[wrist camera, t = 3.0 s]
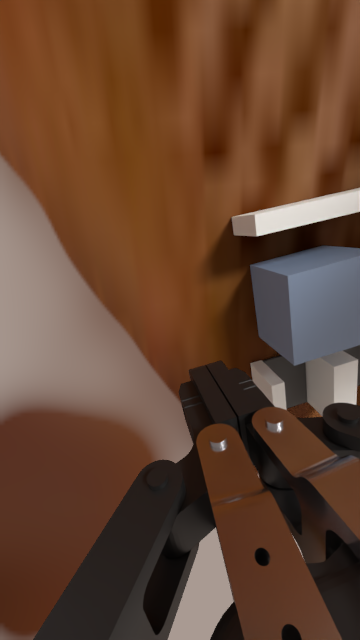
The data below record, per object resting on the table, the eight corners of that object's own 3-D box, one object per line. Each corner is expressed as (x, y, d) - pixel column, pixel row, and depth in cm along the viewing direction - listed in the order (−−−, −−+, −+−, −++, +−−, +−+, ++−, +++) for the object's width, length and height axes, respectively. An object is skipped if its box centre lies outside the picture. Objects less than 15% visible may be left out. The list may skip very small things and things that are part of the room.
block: (322, 245, 20) (381, 250, 16) (323, 316, 22) (376, 339, 18) (249, 264, 20) (287, 275, 15) (258, 336, 22) (294, 365, 17)
